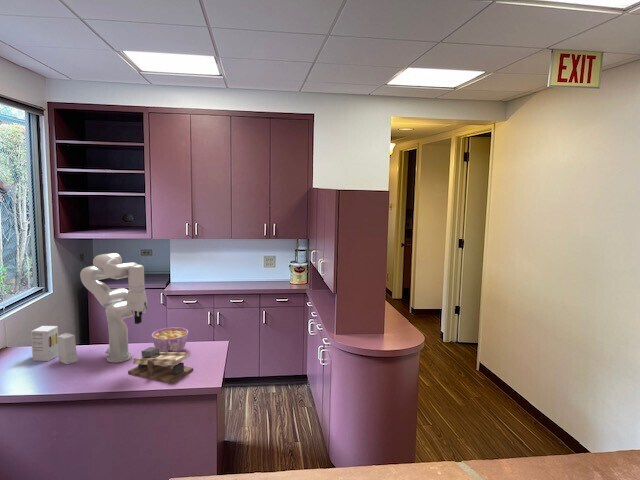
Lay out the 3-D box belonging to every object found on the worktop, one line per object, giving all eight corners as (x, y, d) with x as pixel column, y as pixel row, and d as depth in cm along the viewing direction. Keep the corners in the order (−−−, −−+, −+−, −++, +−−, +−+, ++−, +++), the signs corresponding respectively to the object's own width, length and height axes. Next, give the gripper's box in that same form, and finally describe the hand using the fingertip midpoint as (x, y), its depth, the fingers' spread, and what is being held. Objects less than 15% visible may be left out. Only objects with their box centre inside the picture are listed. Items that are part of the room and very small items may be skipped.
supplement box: (49, 361, 232) (47, 331, 230) (32, 361, 232) (30, 331, 230) (60, 354, 241) (58, 325, 239) (43, 354, 242) (42, 325, 239)
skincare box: (77, 361, 233) (76, 335, 231) (66, 365, 228) (64, 338, 226) (69, 357, 237) (67, 331, 235) (57, 361, 232) (56, 335, 230)
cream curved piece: (131, 365, 219) (130, 360, 219) (150, 355, 232) (149, 350, 232) (172, 366, 210) (171, 361, 209) (189, 356, 222) (189, 351, 222)
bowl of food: (177, 360, 236) (176, 340, 234) (144, 357, 240) (144, 337, 238) (195, 347, 255) (194, 328, 254) (164, 344, 259) (164, 326, 258)
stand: (128, 373, 219) (127, 356, 218) (150, 361, 234) (150, 345, 233) (172, 383, 209) (172, 365, 208) (193, 370, 224) (192, 353, 223)
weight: (142, 359, 221) (141, 351, 221) (150, 355, 227) (149, 347, 226) (151, 359, 219) (150, 351, 219) (159, 355, 224) (158, 347, 224)
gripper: (119, 288, 220) (121, 323, 222) (142, 291, 215) (144, 327, 217) (131, 285, 227) (132, 319, 229) (153, 288, 222) (154, 322, 224)
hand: (138, 322), depth 223 cm, fingers closed
